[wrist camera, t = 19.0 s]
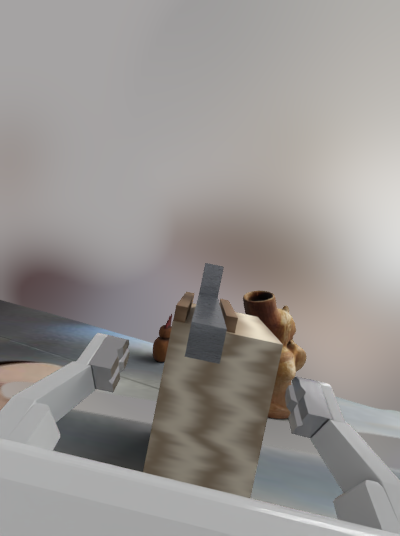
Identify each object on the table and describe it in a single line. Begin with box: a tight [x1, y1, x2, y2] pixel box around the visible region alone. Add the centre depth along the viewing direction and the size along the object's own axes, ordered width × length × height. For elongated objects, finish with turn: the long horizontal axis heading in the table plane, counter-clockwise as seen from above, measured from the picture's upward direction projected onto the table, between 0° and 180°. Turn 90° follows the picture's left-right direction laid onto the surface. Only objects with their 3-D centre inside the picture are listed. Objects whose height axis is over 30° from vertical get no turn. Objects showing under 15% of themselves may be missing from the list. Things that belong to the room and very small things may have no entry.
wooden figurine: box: [153, 314, 172, 362], centre depth 71 cm, size 7×6×15 cm
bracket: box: [185, 263, 227, 364], centre depth 28 cm, size 3×20×8 cm, turn 178°
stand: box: [143, 292, 283, 498], centre depth 34 cm, size 14×14×28 cm
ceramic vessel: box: [243, 291, 306, 419], centre depth 57 cm, size 16×22×30 cm
